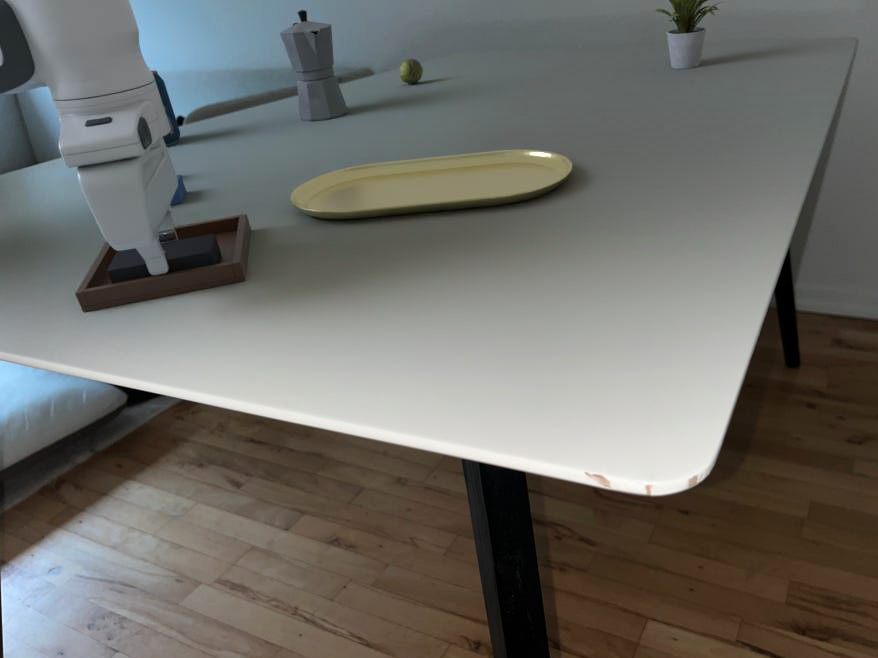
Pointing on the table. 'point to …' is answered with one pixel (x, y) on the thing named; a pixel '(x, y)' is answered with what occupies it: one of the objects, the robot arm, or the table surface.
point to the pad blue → (179, 191)
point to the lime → (410, 71)
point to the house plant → (686, 32)
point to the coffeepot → (314, 69)
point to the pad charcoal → (178, 253)
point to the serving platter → (432, 184)
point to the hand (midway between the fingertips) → (165, 259)
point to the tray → (231, 269)
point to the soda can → (167, 112)
